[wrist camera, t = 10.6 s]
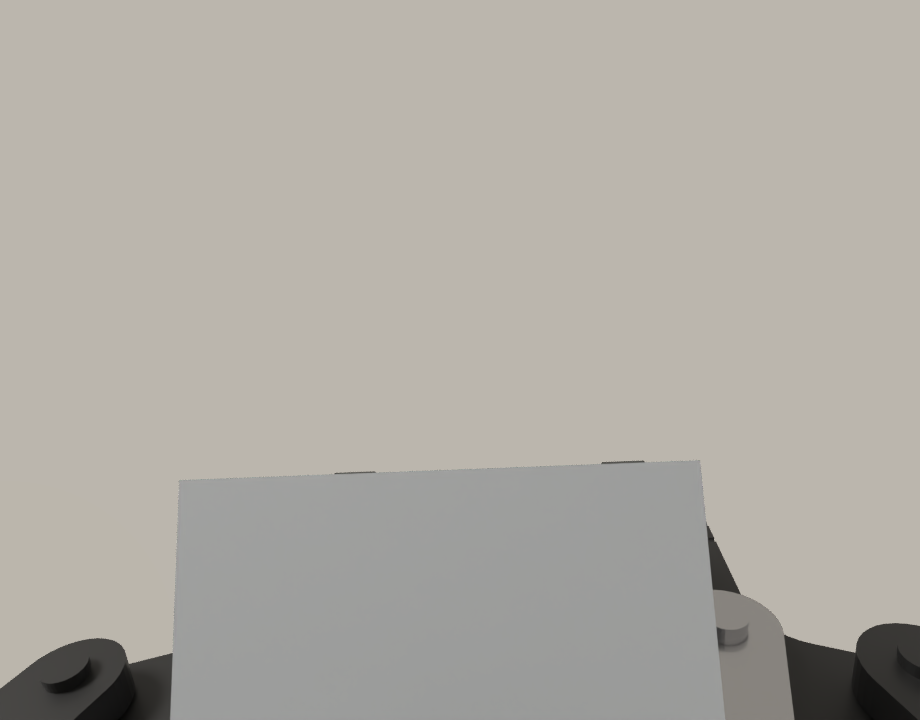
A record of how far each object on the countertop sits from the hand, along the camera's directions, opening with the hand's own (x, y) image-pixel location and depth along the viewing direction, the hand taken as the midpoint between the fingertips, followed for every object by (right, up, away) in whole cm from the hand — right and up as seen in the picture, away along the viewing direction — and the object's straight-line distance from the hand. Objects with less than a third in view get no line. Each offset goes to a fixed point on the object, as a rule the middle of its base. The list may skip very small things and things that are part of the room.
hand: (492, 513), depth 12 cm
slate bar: (0, -4, +2) cm, 5 cm away
